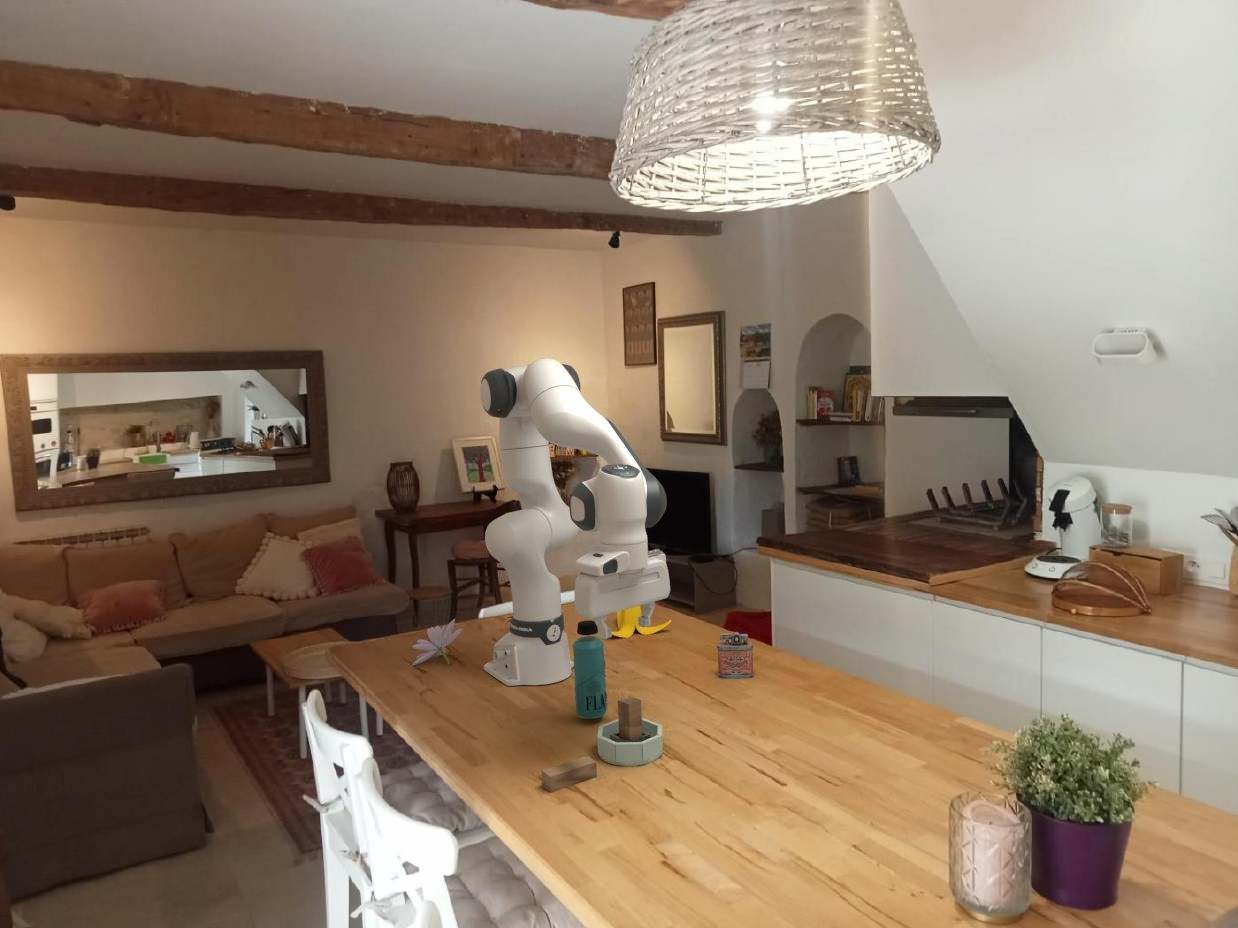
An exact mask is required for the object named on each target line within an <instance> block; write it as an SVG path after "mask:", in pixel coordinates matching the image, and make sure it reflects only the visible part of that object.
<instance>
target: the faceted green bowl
mask: <svg viewBox="0 0 1238 928" xmlns="http://www.w3.org/2000/svg"><path fill="white" fill-rule="evenodd" d="M642 731H643V732H646V733H649V734H650V736H651V738H649V739H647V740H644V741H642V742H618V743H617V742H615V741H612V740H610V735H611V734H614V733H616V732H619V722H618V718H617V719H614V720H612V721H609V722H607V723H604V724H602V725H599V726H598V731H597V738H596V739H597V755H599V757H600V759H601V760H602V761H604V762H605V763H609V764H611V765H614V766H621V767H637V766H642V765H643V766H644V765H647V764H651V763H653V762H655V761H656V760H658V759H660V758H661V757H662V756H663V753H664V752H663V751H664V747H663V745H664V744H663V743H664V742H663V741H664V740H663V739H664V738H663V725H662V724H660V723H658V722H655V721H652V720H650V719H647V718H643V717H642Z"/></svg>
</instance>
